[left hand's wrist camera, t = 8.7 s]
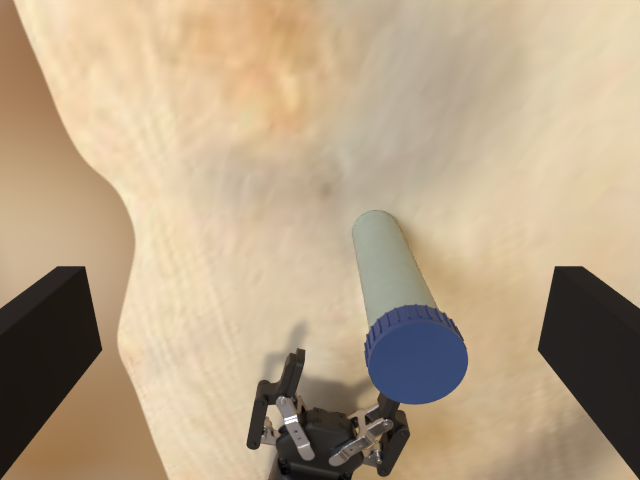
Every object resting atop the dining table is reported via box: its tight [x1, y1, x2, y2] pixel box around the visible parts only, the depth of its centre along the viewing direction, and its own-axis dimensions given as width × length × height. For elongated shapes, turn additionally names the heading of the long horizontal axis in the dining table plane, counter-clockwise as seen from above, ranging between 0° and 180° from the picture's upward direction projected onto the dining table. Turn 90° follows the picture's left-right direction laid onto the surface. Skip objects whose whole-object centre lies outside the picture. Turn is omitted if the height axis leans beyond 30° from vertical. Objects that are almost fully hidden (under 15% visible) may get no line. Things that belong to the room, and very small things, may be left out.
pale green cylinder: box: [352, 210, 439, 331], centre depth 32 cm, size 4×4×19 cm
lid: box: [364, 304, 468, 404], centre depth 23 cm, size 5×5×2 cm
